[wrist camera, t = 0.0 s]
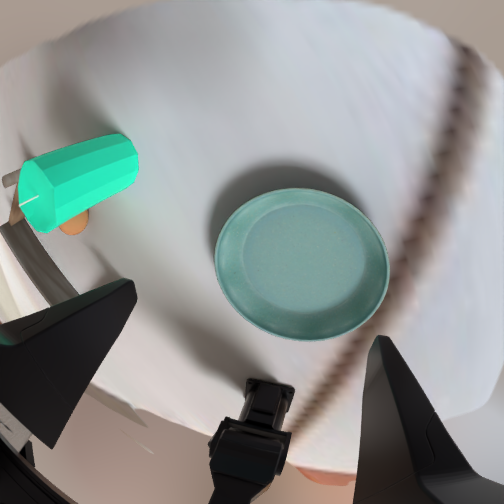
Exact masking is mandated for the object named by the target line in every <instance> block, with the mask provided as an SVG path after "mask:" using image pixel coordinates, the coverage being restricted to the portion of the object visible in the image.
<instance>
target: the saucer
mask: <svg viewBox="0 0 504 504" xmlns="http://www.w3.org/2000/svg"><path fill="white" fill-rule="evenodd" d="M214 263H215V271H216V276H217V280H218V283H219V285H220V287H221V289H222V291H223V293H224V295H225V296H226V298H227V300H228V301H229V303H230V304H231V305H232V307H233V308H234V309H235V310H236V311H237V312H238V313H239V314H240V315H241V316H242V317H243V318H244V319H246V320H247V321H248V322H250V323H251V324H253V325H254V326H256V327H257V328H259V329H261V330H262V331H265V332H267V333H269V334H271V335H274V336H277V337H281V338H284V339H289V340H294V341H304V342H312V341H323V340H328V339H333V338H336V337H339V336H342V335H345V334H347V333H349V332H351V331H353V330H355V329H356V328H358V327H360V326H361V325H362V324H363V323H365V322H366V321H367V320H368V319H369V318H370V317H371V316H372V315H373V314H374V313H375V311H376V310H377V308H378V307H379V306H380V304H381V302H382V301H383V299H384V296H385V294H386V291H387V288H388V283H389V276H390V264H389V257H388V253H387V249H386V246H385V243H384V241H383V239H382V237H381V235H380V234H379V232H378V230H377V229H376V227H375V226H374V225H373V223H372V222H371V221H370V220H369V219H368V217H366V216H365V215H364V214H363V213H362V212H361V211H360V210H359V209H357V208H356V207H355V206H353V205H352V204H350V203H349V202H347V201H345V200H343V199H342V198H340V197H337V196H335V195H333V194H330V193H327V192H324V191H320V190H315V189H309V188H284V189H278V190H273V191H270V192H267V193H264V194H261V195H259V196H257V197H254V198H253V199H251V200H249V201H247V202H246V203H244V204H243V205H242V206H240V207H239V208H238V209H237V210H236V211H235V212H234V213H233V214H232V215H231V216H230V217H229V218H228V220H227V221H226V223H225V224H224V226H223V227H222V229H221V232H220V234H219V236H218V240H217V242H216V246H215V254H214Z"/></svg>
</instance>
